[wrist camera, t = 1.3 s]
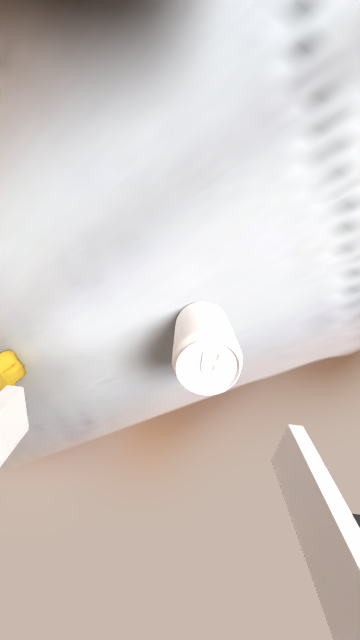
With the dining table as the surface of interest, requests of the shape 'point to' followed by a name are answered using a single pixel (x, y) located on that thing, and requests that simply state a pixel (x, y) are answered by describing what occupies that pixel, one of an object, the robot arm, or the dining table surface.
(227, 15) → the dining table surface
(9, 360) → the teapot
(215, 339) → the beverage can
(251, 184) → the dining table surface
